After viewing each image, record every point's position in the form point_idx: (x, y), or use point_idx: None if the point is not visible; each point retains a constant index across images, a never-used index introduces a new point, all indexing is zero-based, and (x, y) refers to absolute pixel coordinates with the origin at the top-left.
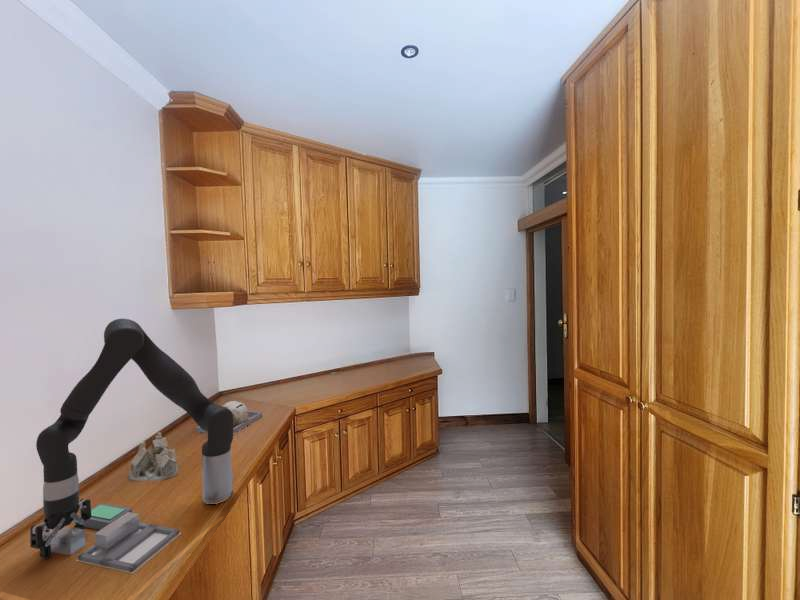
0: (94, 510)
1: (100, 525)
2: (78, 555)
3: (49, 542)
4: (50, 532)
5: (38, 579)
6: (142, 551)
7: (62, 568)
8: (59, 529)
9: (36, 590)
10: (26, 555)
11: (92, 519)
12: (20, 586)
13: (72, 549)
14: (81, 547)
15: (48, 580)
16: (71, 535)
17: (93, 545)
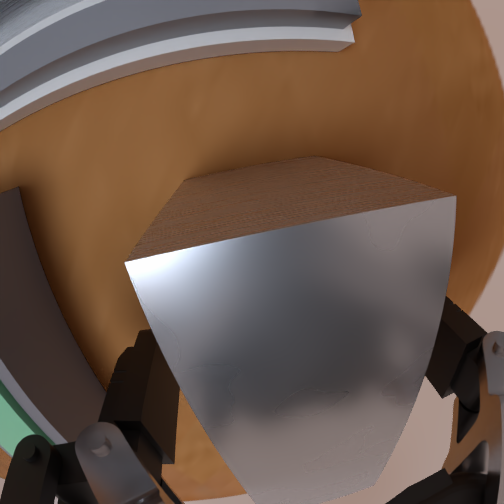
0: None
1: (9, 313)
2: (356, 16)
3: (494, 355)
4: (468, 463)
5: (471, 168)
6: None
7: (393, 115)
8: (449, 476)
9: (498, 99)
10: None
11: (39, 413)
12: (499, 205)
13: (334, 164)
14: (222, 177)
15: (463, 102)
16: (382, 297)
17: (186, 14)
